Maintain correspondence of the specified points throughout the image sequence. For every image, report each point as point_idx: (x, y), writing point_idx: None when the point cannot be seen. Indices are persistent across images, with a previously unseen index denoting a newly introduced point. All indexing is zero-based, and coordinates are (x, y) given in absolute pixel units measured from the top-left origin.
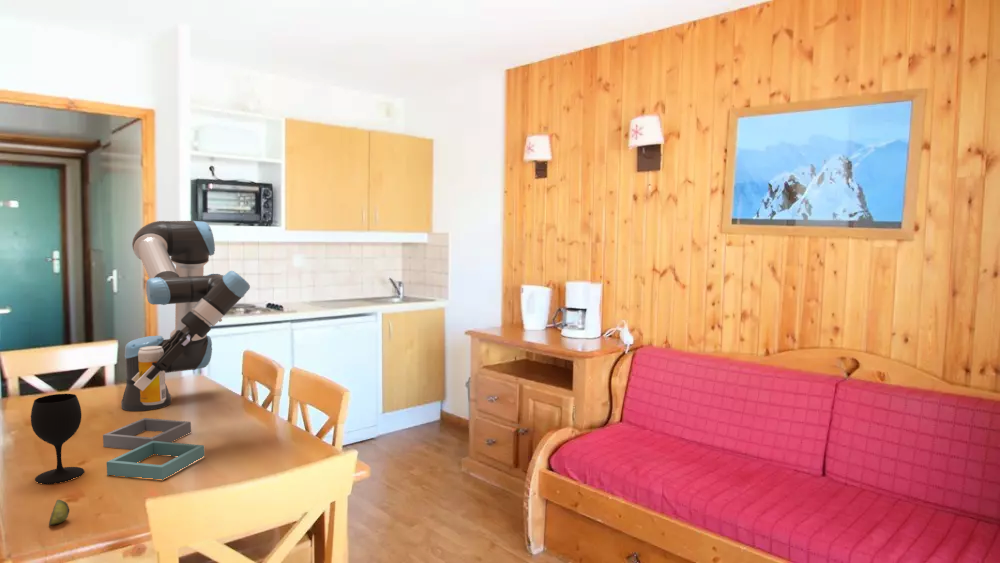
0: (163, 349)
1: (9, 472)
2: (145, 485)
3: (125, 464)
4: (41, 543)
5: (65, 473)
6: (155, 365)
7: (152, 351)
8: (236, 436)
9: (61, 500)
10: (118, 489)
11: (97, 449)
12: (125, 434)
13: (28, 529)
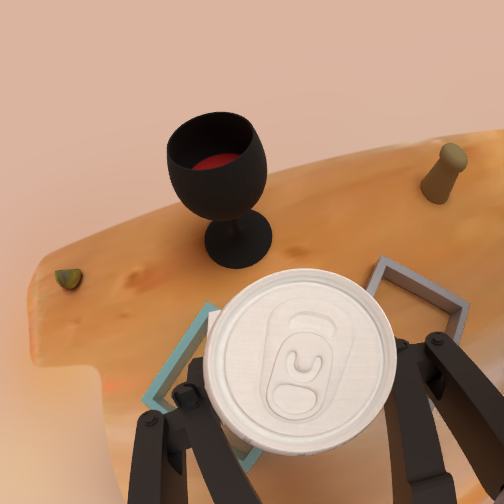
0: (397, 428)
1: (279, 171)
2: (143, 374)
3: (183, 336)
4: (45, 277)
5: (228, 243)
6: (180, 402)
7: (209, 386)
8: (367, 500)
9: (60, 275)
10: (143, 336)
11: (363, 258)
12: (414, 288)
13: (76, 256)
